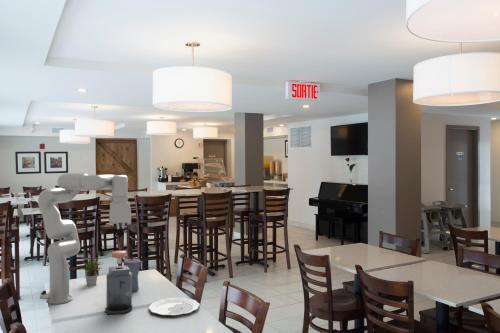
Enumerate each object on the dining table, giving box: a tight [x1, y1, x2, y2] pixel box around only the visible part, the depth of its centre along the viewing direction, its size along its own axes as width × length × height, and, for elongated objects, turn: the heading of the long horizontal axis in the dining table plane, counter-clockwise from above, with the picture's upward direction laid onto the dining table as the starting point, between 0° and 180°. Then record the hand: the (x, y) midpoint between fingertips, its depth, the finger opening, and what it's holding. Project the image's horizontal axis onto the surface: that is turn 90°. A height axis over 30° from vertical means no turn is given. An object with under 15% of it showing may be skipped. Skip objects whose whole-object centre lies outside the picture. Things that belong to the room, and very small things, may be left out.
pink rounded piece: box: [111, 250, 128, 265], centre depth 208 cm, size 7×7×6 cm
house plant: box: [81, 257, 103, 287], centre depth 249 cm, size 14×14×16 cm
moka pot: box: [118, 255, 143, 294], centre depth 240 cm, size 10×15×20 cm, turn 78°
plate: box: [148, 297, 201, 317], centre depth 211 cm, size 25×25×2 cm
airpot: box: [105, 265, 134, 316], centre depth 208 cm, size 13×19×21 cm
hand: (120, 236), depth 208 cm, fingers closed
